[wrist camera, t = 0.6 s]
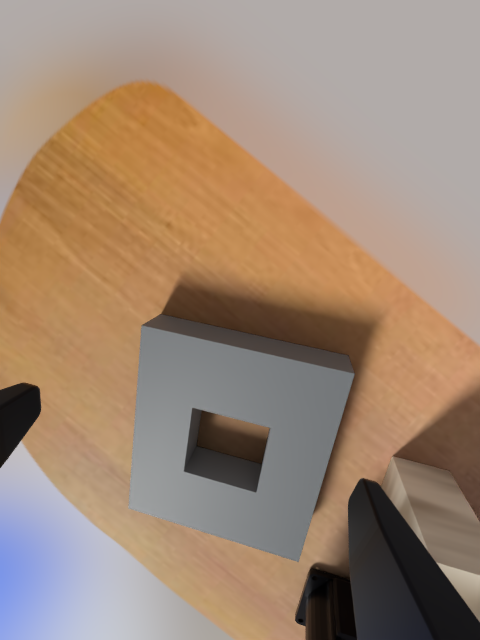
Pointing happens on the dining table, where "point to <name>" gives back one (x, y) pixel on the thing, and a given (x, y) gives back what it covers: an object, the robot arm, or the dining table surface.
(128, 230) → the dining table surface
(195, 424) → the socket block
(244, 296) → the dining table surface
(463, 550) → the square peg
